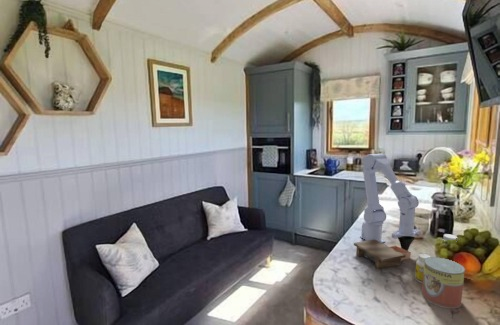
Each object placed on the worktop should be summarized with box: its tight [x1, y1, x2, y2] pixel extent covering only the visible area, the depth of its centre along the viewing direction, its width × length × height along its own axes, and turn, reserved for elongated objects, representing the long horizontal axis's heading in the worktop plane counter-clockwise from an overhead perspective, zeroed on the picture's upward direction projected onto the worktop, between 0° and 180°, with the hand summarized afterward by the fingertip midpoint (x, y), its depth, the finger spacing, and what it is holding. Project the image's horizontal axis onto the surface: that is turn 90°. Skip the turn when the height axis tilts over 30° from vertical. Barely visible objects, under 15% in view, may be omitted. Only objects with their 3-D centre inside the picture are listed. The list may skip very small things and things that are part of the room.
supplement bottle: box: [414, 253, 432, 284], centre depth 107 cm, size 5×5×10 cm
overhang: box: [353, 239, 405, 270], centre depth 123 cm, size 17×12×5 cm
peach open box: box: [388, 244, 412, 261], centre depth 127 cm, size 8×10×3 cm
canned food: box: [421, 256, 466, 309], centre depth 96 cm, size 11×11×12 cm
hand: (404, 251), depth 129 cm, fingers closed
